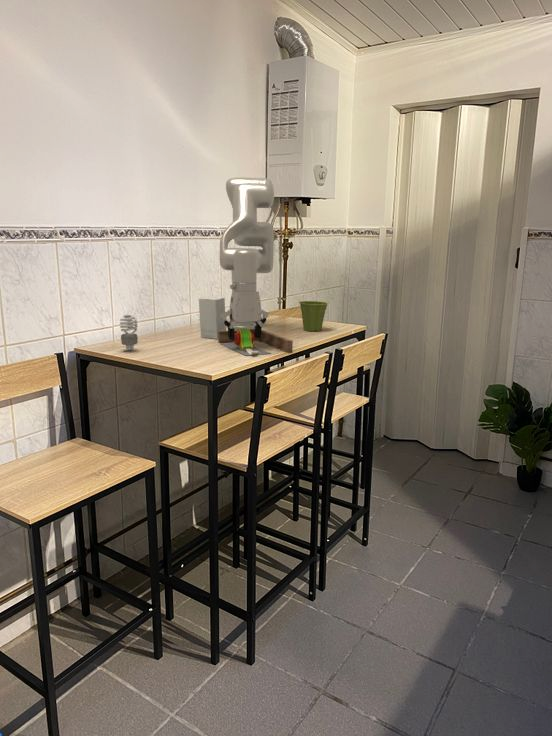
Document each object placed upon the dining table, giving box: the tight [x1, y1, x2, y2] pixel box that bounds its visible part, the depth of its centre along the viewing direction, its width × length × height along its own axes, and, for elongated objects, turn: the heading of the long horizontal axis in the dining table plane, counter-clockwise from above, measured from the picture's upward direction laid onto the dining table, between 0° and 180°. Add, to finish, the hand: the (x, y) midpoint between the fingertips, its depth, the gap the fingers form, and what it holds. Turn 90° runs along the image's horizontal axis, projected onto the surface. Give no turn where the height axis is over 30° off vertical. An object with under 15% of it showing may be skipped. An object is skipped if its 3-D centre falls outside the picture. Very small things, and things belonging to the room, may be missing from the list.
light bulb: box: [119, 314, 139, 352], centre depth 188 cm, size 6×6×12 cm
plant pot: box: [298, 300, 329, 332], centre depth 233 cm, size 12×12×11 cm
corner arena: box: [217, 329, 294, 354], centre depth 198 cm, size 26×16×4 cm, turn 28°
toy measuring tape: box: [233, 329, 259, 357], centre depth 192 cm, size 6×19×7 cm, turn 19°
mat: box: [220, 342, 272, 357], centre depth 196 cm, size 21×9×1 cm, turn 28°
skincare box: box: [198, 296, 227, 340], centre depth 214 cm, size 8×6×15 cm
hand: (244, 338), depth 195 cm, fingers open, 9 cm apart
